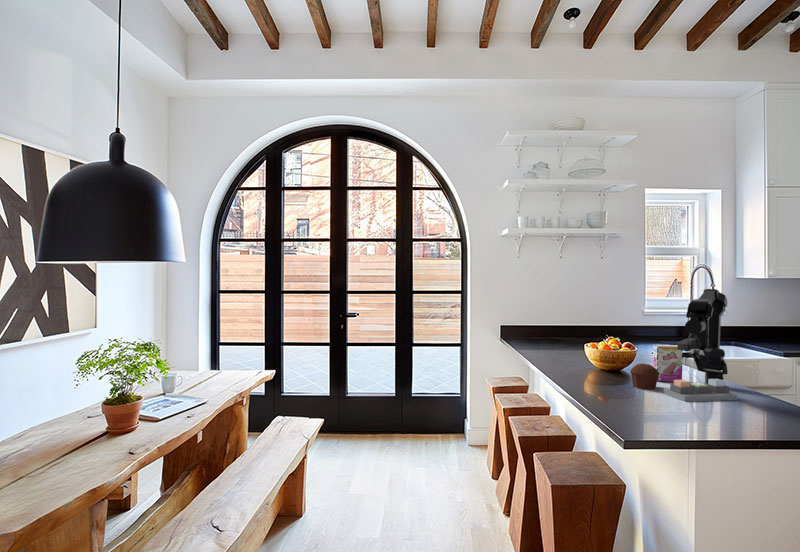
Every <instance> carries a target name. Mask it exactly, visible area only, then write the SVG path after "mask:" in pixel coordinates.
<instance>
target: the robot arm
mask: <svg viewBox="0 0 800 552" xmlns="http://www.w3.org/2000/svg"><path fill="white" fill-rule="evenodd" d="M727 307H728V299H727V295H726V294H724V293H723V292H720V291H719V289H716V288H705V289H703V293H702V294H701V295H700V296H699V298H697V299H696V298H695V299H693V300H691V301H690V302H689V303H688V306H687V312H686V315H685V317H686V318H689V320H687V321H686V323H685V324H684V329H685V331H686V332H687V333H688V338H685V339H683V340H679V341H678V342H677V345H678V350H683V351H684V352H687V354H688V355H690V357H692V359H693V360H694V364H695V366H696V368H697V371H698V372H702V373H705V374H704V375H705V376H704V377H705V379H704V380H705V382H704V384H705V383H708V379H720V380H724V375H728V365H727V363H726V360H725V357H726V353H725V352H726V351H725V350H724V349H722V348H721V347H720V346H721V344H720V343H721V324H722V322H721V319H722V318H721V317H722V316H723V314H724V313H725V312H726V310H727V309H726V308H727Z"/></svg>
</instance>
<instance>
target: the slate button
mask: <svg viewBox="0 0 800 552" xmlns="http://www.w3.org/2000/svg"><path fill="white" fill-rule="evenodd" d="M708 384H709V385H713V386H725V385H726V380H724V379H723V380H720V379H708Z"/></svg>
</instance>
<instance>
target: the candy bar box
mask: <svg viewBox="0 0 800 552" xmlns="http://www.w3.org/2000/svg"><path fill="white" fill-rule="evenodd" d="M652 346H653V347H652V366H653V367H654V368H656V370H657V371H658V372H659V375H658V378H657V382H658V383H659V382H661V383H674V380H683V355H684V354H683V351H684V350H678V344H675V345H674V344H653V345H652Z"/></svg>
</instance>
